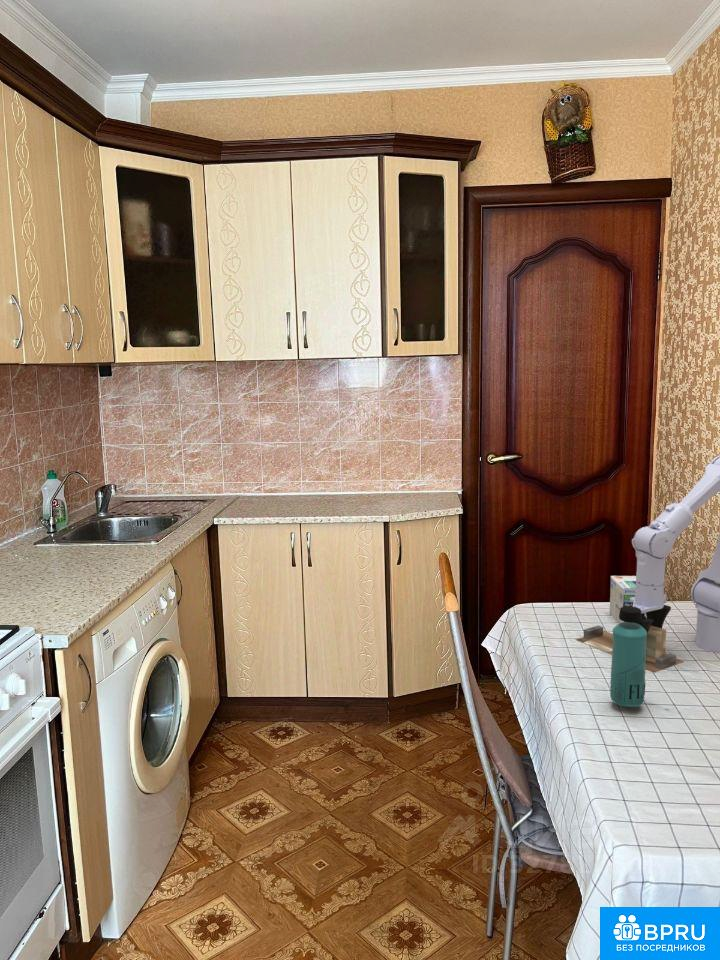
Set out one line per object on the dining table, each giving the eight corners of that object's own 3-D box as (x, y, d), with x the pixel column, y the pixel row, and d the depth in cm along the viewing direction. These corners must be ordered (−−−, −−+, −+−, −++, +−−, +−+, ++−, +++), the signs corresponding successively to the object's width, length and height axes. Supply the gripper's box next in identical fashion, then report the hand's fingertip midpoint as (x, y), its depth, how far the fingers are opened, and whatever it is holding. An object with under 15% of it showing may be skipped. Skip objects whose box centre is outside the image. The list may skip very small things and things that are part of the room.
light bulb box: (649, 630, 187) (651, 588, 185) (621, 630, 187) (623, 588, 185) (634, 614, 198) (636, 574, 196) (608, 615, 198) (609, 575, 196)
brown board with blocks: (604, 633, 185) (604, 622, 185) (684, 665, 167) (684, 653, 166) (575, 642, 180) (575, 631, 179) (654, 676, 161) (654, 663, 161)
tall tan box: (633, 651, 172) (635, 622, 171) (664, 659, 168) (666, 629, 166) (627, 655, 170) (629, 625, 169) (658, 664, 165) (660, 633, 164)
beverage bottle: (627, 717, 144) (632, 616, 140) (601, 703, 150) (605, 606, 146) (652, 709, 147) (657, 610, 143) (625, 696, 153) (630, 600, 149)
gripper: (645, 571, 174) (642, 628, 176) (617, 586, 163) (614, 646, 166) (677, 577, 169) (673, 635, 171) (649, 593, 159) (646, 655, 161)
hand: (646, 641), depth 168 cm, fingers open, 7 cm apart
